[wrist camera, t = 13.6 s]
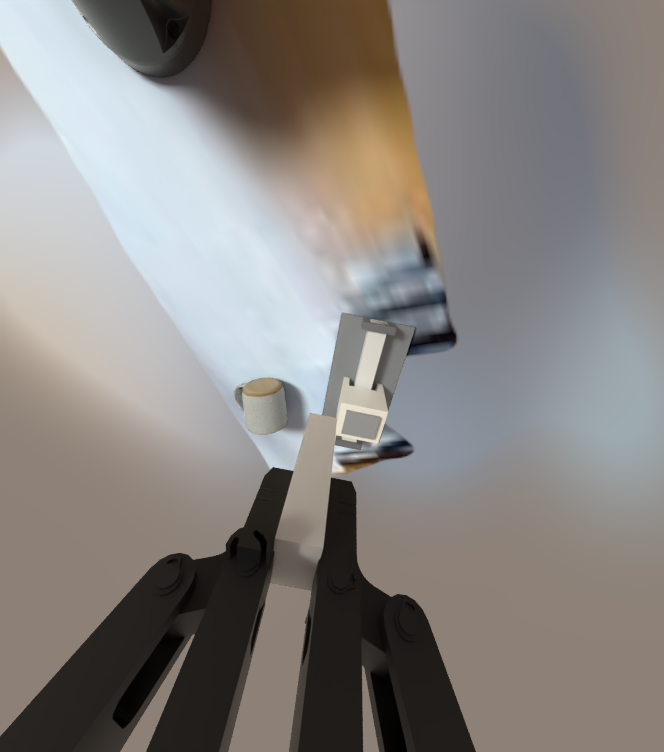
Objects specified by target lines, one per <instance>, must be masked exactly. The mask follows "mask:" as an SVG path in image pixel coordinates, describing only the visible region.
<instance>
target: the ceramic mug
mask: <svg viewBox="0 0 664 752" xmlns="http://www.w3.org/2000/svg"><path fill="white" fill-rule="evenodd" d="M242 387H243V391H242ZM241 391H242V392H241ZM234 397H235V401H236V403H237V405H238V407H239V408H240V409H241V410H242V411H243V412H244V415H245V424H246V428H247V429H248V431H250V432H252V433H254V434H261V435H263V434H271V433H275V432H277V431H279V430H281V429H282V428H283V427H285V425H286V424H287V421H288V416H287V408H286V401H285V391H284V388H283V385H282V383H281V382H280V381H279V380H277V379H274V378H260V379H256V380H252V381H250V382H248V383H243V384H241V385H239V386H237V387H236V388H235V391H234Z"/></svg>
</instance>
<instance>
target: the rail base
mask: <svg viewBox="0 0 664 752" xmlns="http://www.w3.org/2000/svg"><path fill="white" fill-rule="evenodd" d="M414 330H415V327H412V326H407V325H402V324H397V323H392V322H387V321H382V320H377V319H372V318H366V317H361V316H356V315H351V314H346V313H342V314H341V319H340V324H339V330H338V335H337V340H336V345H335V351H334V356H333V361H332V366H331V372H330V377H329V382H328V387H327V393H326V398H325V403H324V408H323V414H322V415H324V416H329V417H334V418H336V416H337V408H338V402H339V398H340V393H341V389H342V384H343V380H344V377H348V378H350V379H349V386H354V387H359V388H364V389H369V390H374V391H375V388H376V385H377V383H378V384H382V385H383V389H384V394H385V399H386V403H387V408H388V409H389V406H390V403H391V400H392V397H393V394H394V391H395V388H396V385H397V382H398V379H399V376H400V373H401V370H402V367H403V364H404V361H405V358H406V355H407V351H408V348H409V345H410V342H411V339H412V336H413V333H414ZM335 445H337V446H342V447H347V448H352V449H357V450H361V447H362V440H357V439H352V438H347V437H342V436H337V435H336V440H335Z"/></svg>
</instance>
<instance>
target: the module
mask: <svg viewBox="0 0 664 752" xmlns="http://www.w3.org/2000/svg"><path fill="white" fill-rule="evenodd" d="M349 379H350V378H348V377H344V380H343V384H342V389H341V393H340V398H339V402H338V408H337V416H336V418H337V425H336V435H337V436H342V437H347V438H352V439H357V440H362V441H367V442H372V443H376V444H378V442H379V439H380V436H381V433H382V430H383V427H384V424H385V421H386V418H387V414H388V408H387V403H386V399H385V394H384V389H383V385H382V384H378V383H377V385H376V388H375V391H374V390H369V389H364V388H359V387H354V386H349Z"/></svg>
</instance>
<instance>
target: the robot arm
mask: <svg viewBox="0 0 664 752" xmlns="http://www.w3.org/2000/svg"><path fill="white" fill-rule="evenodd" d="M72 1H73V3H74V4H75V6H76V8H77V9H78V11H79V13H80V14H81V16H82V17H83V18H84V20H85V21H86V23H87V24H88V26H89V27H90V28H91V29H92V31H93V32H94V33H95V34H96V35H97V37H98V38H99V39H100V40H101V41H102V42H103V43H104V44H105V45H106V46H107V47H108V48H109V49H110V50H112V51H113V52H114V53H115V54H116V55H117V56H118V57H120V58H121V59H122V60H123V61H124V62H125V63H127V64H128V65H129V66H131V67H132V68H134V69H136V70H137V71H139V72H142V73H144V74H147V75H150V76H156V77H164V76H170V75H173V74H175V73H178V72H179V71H181V70H182V69H184V68H185V67H186V66H187V65H188V64H189V63H190V62H191V61H192V60H193V58H194V57H195V56H196V54H197V52H198V51H199V49H200V47H201V45H202V42H203V40H204V37H205V34H206V30H207V26H208V21H209V14H210V3H211V0H72ZM336 425H337V418H334V417H329V416H324V415H319V414H313V413H310V415H309V419H308V422H307V426H306V429H305V433H304V436H303V440H302V444H301V447H300V451H299V454H298V458H297V461H296V465H295V468H294V471H290V470H285V469H280V468H274V467H273V468H272V469H271V470H270V471H269V472H268V473H267V474H266V475H265V476H264V479H263V481H262V484H261V486H260V489H259V491H258V494H257V496H256V499H255V501H254V503H253V506H252V508H251V511H250V513H249V516H248V518H247V521H246V523H245V526H244V527H243V528H240V529H238V530H237V531H236V532H235V533H234V534H233V535H231V537H230V538H229V540H228V542H227V543H226V551H225V552H224V553H222V554H219V555H216V556H213V557H207V558H202V559H196V560H193V559H192V558H191V557H190V556H189V555H186V554H182V553H177V554H171V555H168V556H166V557H165V558H163V559H161V560H159V561H158V562H157V563H156V564H155V565H154V566H152V567H151V568H150V569H149V570H148V572H147V573H146V574H145V575H144V576H143V577H142V578H141V579H140V580H139V582H138V583H137V584H136V585H135V586H134V587H133V588H132V589H131V591H130V592H129V593H128V594H127V595H126V596H125V597H124V598H123V599H122V601H121V602H120V603H119V604H118V605H117V606H116V607H115V608H114V610H113V611H112V612H111V613H110V614H109V615H108V616H107V617H106V619H105V620H104V621H103V622H102V623H101V624H100V625H99V626H98V628H97V629H96V630H95V631H94V632H93V633H92V634H91V635H90V636H89V638H88V639H87V640H86V641H85V642H84V643H83V644H82V645H81V647H80V648H79V649H78V650H77V651H76V652H75V653H74V655H73V656H72V657H71V658H70V659H69V660H68V661H67V662H66V663H65V665H64V666H63V667H62V668H61V669H60V670H59V671H58V672H57V674H56V675H55V676H54V677H53V678H52V679H51V680H50V681H49V682H48V684H47V685H46V686H45V687H44V688H43V689H42V690H41V692H40V693H39V694H38V695H37V696H36V697H35V698H34V699H33V700H32V701H31V703H30V704H29V705H28V706H27V707H26V708H25V709H24V710H23V712H22V713H21V714H20V715H19V716H18V717H17V718H16V719H15V721H14V722H13V723H12V724H11V725H10V726H9V727H8V729H7V730H6V731H5V732H4V733H3V734H2V735H1V736H0V752H120V751H121V749H122V748H123V746H124V744H125V743H126V741H127V739H128V738H129V736H130V735H131V733H132V731H133V730H134V728H135V726H136V725H137V723H138V721H139V720H140V718H141V717H142V715H143V713H144V712H145V710H146V709H147V707H148V705H149V704H150V702H151V701H152V699H153V697H154V696H155V694H156V692H157V691H158V689H159V688H160V686H161V684H162V683H163V681H164V680H165V678H166V676H167V675H168V673H169V671H170V670H171V668H172V667H173V665H174V663H175V662H176V660H177V658H178V657H179V655H180V653H181V652H182V650H183V649H184V647H185V645H186V644H187V642H188V641H189V639H190V637H191V636H192V635H193V634H195V636H194V639H193V641H192V643H191V646H190V648H189V650H188V653H187V655H186V658H185V660H184V662H183V665H182V667H181V670H180V672H179V674H178V677H177V679H176V682H175V684H174V687H173V689H172V691H171V694H170V696H169V698H168V701H167V703H166V706H165V708H164V710H163V713H162V715H161V718H160V720H159V723H158V725H157V727H156V730H155V732H154V734H153V737H152V739H151V741H150V744H149V746H148V749H147V751H146V752H228V750H229V746H230V741H231V738H232V734H233V730H234V726H235V722H236V718H237V714H238V710H239V706H240V702H241V698H242V694H243V690H244V686H245V683H246V679H247V675H248V670H249V667H250V663H251V659H252V655H253V651H254V647H255V643H256V639H257V635H258V631H259V627H260V623H261V619H262V615H263V611H264V607H265V600H266V596H267V592H268V588H269V584H270V583H274V584H279V585H284V586H290V587H295V588H300V589H305V590H310V591H311V590H312V591H311V600H310V607H309V610H308V614H307V617H306V621H305V624H306V628H305V636H304V644H303V651H302V658H301V666H300V674H299V681H298V688H297V695H296V704H295V710H294V718H293V725H292V733H291V740H290V748H289V752H363V726H362V725H363V717H362V665H363V666H364V668H365V673H366V678H367V685H368V690H369V696H370V701H371V707H372V713H373V718H374V724H375V730H376V736H377V741H378V747H379V752H476V751H475V748H474V745H473V743H472V740H471V737H470V734H469V732H468V729H467V726H466V723H465V721H464V718H463V715H462V712H461V710H460V707H459V704H458V702H457V699H456V696H455V693H454V690H453V688H452V685H451V682H450V679H449V677H448V674H447V671H446V668H445V666H444V663H443V660H442V658H441V655H440V652H439V649H438V646H437V644H436V641H435V638H434V636H433V633H432V630H431V627H430V625H429V622H428V619H427V618H426V615H425V614H424V612H423V610H422V608H421V607H420V606H419V605H418V604H417V603H416V601H415V600H413V599H411V598H410V597H408V596H407V595H400V594H397V595H395V596H393V597H390V596H389V595H387V594H385V593H384V592H382V591H381V590H379V589H378V588H376V587H374V586H373V585H372V584H370V583H369V582H368V581H367V580H366V578H364V576H363V574H362V573H361V571H360V569H359V566H358V563H357V553H356V552H357V551H356V550H357V547H356V546H357V543H356V541H357V540H356V491H355V489H354V486H353V484H352V482H351V481H346V480H340V479H335V478H331V472H332V463H333V453H334V444H335V435H336Z"/></svg>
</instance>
